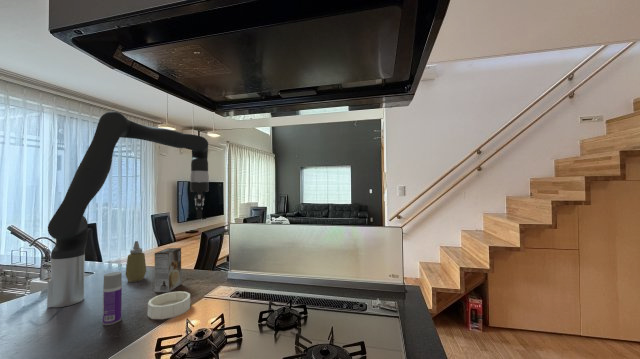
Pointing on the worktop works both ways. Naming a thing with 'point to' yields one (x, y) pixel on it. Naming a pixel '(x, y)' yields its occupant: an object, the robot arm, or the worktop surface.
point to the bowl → (168, 305)
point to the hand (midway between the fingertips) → (199, 217)
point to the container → (112, 298)
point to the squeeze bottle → (136, 264)
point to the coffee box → (167, 269)
